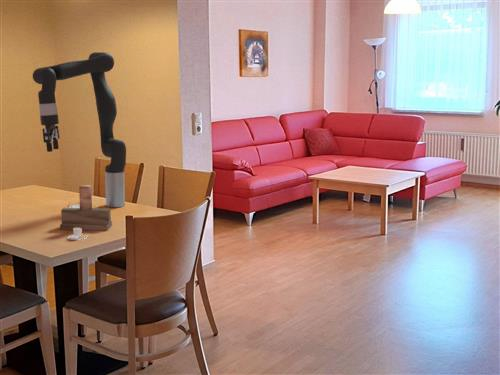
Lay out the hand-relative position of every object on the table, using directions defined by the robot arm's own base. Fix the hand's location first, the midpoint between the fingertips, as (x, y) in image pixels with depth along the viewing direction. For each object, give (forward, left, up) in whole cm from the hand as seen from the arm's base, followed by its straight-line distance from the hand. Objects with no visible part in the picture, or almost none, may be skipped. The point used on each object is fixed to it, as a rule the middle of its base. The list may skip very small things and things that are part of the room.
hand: (53, 150), depth 274 cm
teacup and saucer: (+32, +15, -32) cm, 48 cm away
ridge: (+16, +18, -31) cm, 39 cm away
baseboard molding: (-9, +7, -32) cm, 34 cm away
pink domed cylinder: (+15, +18, -23) cm, 33 cm away
